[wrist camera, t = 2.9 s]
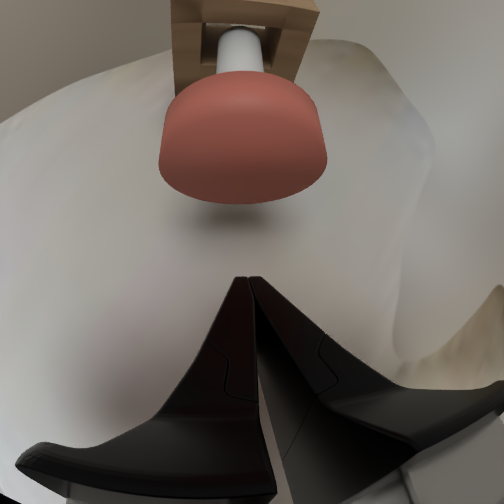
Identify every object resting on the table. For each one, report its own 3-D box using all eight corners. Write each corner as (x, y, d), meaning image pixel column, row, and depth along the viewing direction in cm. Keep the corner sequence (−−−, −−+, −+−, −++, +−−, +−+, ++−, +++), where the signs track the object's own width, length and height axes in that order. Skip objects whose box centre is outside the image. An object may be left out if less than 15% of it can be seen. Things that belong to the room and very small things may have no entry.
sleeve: (274, 136, 20) (319, 12, 10) (178, 133, 19) (170, -1, 9) (269, 91, 22) (302, -19, 11) (184, 88, 21) (184, -28, 10)
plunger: (299, 205, 13) (355, 127, 8) (168, 204, 12) (145, 114, 7) (282, 83, 16) (308, 5, 10) (183, 78, 15) (182, -5, 9)
